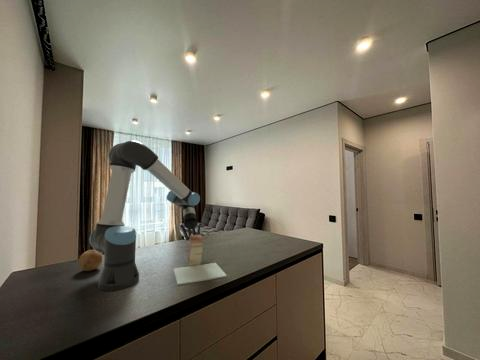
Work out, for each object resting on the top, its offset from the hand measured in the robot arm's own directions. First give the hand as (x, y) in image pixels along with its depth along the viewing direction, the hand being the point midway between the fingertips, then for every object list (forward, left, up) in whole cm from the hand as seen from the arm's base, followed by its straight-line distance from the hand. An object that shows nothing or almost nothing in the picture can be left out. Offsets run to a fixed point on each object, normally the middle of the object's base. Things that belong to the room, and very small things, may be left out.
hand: (194, 250), depth 112 cm
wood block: (-1, -1, -6) cm, 6 cm away
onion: (-41, +30, -7) cm, 51 cm away
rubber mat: (-7, -13, -7) cm, 17 cm away
